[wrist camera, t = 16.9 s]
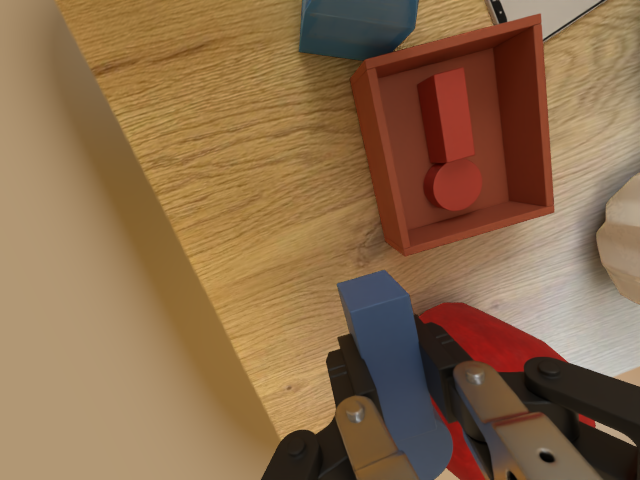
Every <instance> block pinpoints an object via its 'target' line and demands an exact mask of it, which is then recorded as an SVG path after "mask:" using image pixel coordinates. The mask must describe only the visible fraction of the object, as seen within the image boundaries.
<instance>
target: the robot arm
mask: <svg viewBox="0 0 640 480" xmlns="http://www.w3.org/2000/svg"><path fill="white" fill-rule="evenodd" d="M414 320H415V325H416V329H417V334H418V339H419V342H418V344H419V349H420V353H421V358H422V363H423V368H424V373H425V378H426V383H427V388H428V392H429V394H430V395H431V397H432V398H433V400H434V401H435V403H436V405H437V406H438V408H439V409H440V411H441V412H442V414H443V416H444V417H445V419H446V420H447V422H448V423H449V424H450V423H453V422H456V421H458V422H459V424H460V425H461V427H462V431H463V436H464V440H465V442H466V444H467V446H468V448H469V449H470V451H471V453H472V455H473V457H474V459H475V461H476V463H477V465H478V466H479V468H480V470H481V472H482V474H483V476H484V478H485V480H640V387H639V386H636V385H633V384H630V383H627V382H624V381H621V380H618V379H615V378H612V377H609V376H606V375H603V374H600V373H597V372H594V371H591V370H589V369H586V368H583V367H580V366H577V365H574V364H571V363H568V362H565V361H562V360H559V359H556V358H551V357H534V358H531V359H529V360H527V361H526V362H525V364H524V366H523V367H524V371H521V372H497V371H496V370H495V369H494V368H493V367H491V366H490V365H488V364H486V363H484V362H480V361H475V360H474V359H473V358H472V357H471V356H470V355H469V354H468V353H467V352H466V351H465V350H464V349H463V348H462V347H461V346H460V345H459V344H458V343H457V342H456V341H454V339H453V338H452V337H451V336H450V335H449V334H448V332H447V331H446V330H445V329H444V328H443V327H442V326H440V325H437V324H435V323H433V322H429V323H425V324H424V323H423V322H422V320H421V319H420V318H419V317H418V316H417V315H416V314H414ZM337 338H338V342H339V346H340V349H338V350H335V351H332V352H329V354H328V357H327V360H326V364H327V368H328V373H329V377H330V382H331V386H332V391H333V395H334V400H335V404H336V412H335V416H334V418H333V420H332V421H331V423H330V424H329V425H328V426H327V427H326V428H324V429H323V430H322V431H320V432H318V433H317V434H314V433H313V432H311V431H309V430H297V431H294V432H292V433H290V434H288V435H287V436H286V437H285V438H284V439H283V440H282V441H281V442H280V444H279V445H278V447H277V449H276V451H275V453H274V455H273V457H272V459H271V461H270V463H269V465H268V467H267V469H266V471H265V473H264V475H263V477H262V479H261V480H420V479H419V477H418V475H417V474H416V472H415V470H414V468H413V466H412V464H411V463H410V461H409V459H408V457H407V455H406V454H405V452H404V451H403V450H400V451H399V449H398V448H397V446H396V444H395V442H394V440H393V438H392V436H391V434H390V433H389V431H388V429H387V427H386V425H385V421H384V417H383V413H382V409H381V405H380V401H379V397H378V393H377V389H376V386H375V384H374V382H373V379H372V377H371V374H370V372H369V370H368V367H367V365H366V362H365V360H364V359H362V358H361V356H360V354H359V351H358V349H357V346H356V344H355V341H354V339H353V336H352V334H351V333H350V334H347V335H343V336H340V337H337ZM579 414H581V415H583V416H585V417H587V418H590V419H592V420H594V421H597V422H599V423H601V424H603V425H606V426H608V427H610V428H613V429H615V430H617V431H619V432H621V433H623V434H625V435H626V436H628V437H629V438H630V439H631V440H632V441H633V442H634V443H635V444H636V446H637V447H636V446H633V445H631V444H629V443H627V442H625V441H622V440H620V439H618V438H616V437H614V436H611V435H609V434H607V433H605V432H603V431H600V430H598V429H596V428H594V427H592V426H589V425H587V424H585V423H583V422H581V421H579Z"/></svg>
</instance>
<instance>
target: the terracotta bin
mask: <svg viewBox="0 0 640 480" xmlns="http://www.w3.org/2000/svg"><path fill="white" fill-rule="evenodd" d="M541 23H542V20H541V13H539V14H536V15H532V16H528V17H524V18H520V19H517V20H513V21H509V22H505V23H501V24H498V25H494V26H490V27H486V28H482V29H478V30H475V31H471V32H467V33H463V34H459V35H456V36H452V37H448V38H444V39H440V40H437V41H433V42H429V43H425V44H421V45H418V46H414V47H410V48H406V49H402V50H399V51H395V52H391V53H387V54H383V55H379V56H376V57H372V58H368V59H365V60H364V61H363V62H362V64H361V65H360V66H359V68H358V69H357V70H356V71H355V73H354V74H353V75H352V77H351V78H350V82H351V87H352V91H353V96H354V100H355V105H356V110H357V114H358V119H359V123H360V128H361V133H362V137H363V142H364V146H365V151H366V155H367V160H368V165H369V169H370V174H371V178H372V183H373V187H374V192H375V197H376V201H377V206H378V210H379V215H380V220H381V224H382V229H383V233H384V238H385V242H386V243H388V244H389V245H391V246H392V247H393V248H394V249H396V250H397V251H398V252H400V253H401V254H402V255H404V256H408V255H412V254H415V253H418V252H422V251H425V250H429V249H432V248H435V247H439V246H442V245H445V244H449V243H452V242H456V241H459V240H462V239H466V238H469V237H473V236H476V235H479V234H483V233H486V232H490V231H493V230H496V229H500V228H503V227H507V226H510V225H513V224H517V223H520V222H524V221H527V220H530V219H534V218H537V217H540V216H544V215H547V214H551V213H554V198H553V183H552V168H551V153H550V138H549V124H548V109H547V94H546V79H545V65H544V50H543V35H542V24H541ZM460 67H464V72H465V80H466V88H467V95H468V103H469V111H470V119H471V126H472V134H473V142H474V149H475V155H474V156H471V157H467V158H464V159H467V160H470V161H471V162H473V163H474V164H475V165H476V166H477V167H478V168H479V170H480V172H481V175H482V189H481V192H480V194H479V196H478V198H477V199H476V201H475V202H474V203H473V204H472V205H471V206H469V207H468V208H466V209H463V210H460V211H450V210H446V209H442V208H439V207H436V206H434V205H432V204H431V203H430V202H429V201H428V200H427V198H426V196H425V194H424V189H423V183H424V178H425V176H426V174H427V172H428V170H429V169H430V168H431V167H432V166H433V165H434V164H435V163H430V159H429V153H428V147H427V141H426V136H425V130H424V124H423V118H422V112H421V106H420V100H419V94H418V88H417V84H419V83H420V82H422V81H424V80H426V79H427V78H429V77H431V76H432V75H434V74H437V73H441V72H445V71H449V70H452V69H456V68H460Z"/></svg>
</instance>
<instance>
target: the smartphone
mask: <svg viewBox="0 0 640 480" xmlns="http://www.w3.org/2000/svg"><path fill="white" fill-rule="evenodd" d="M605 1H607V0H485V3H486V5H487V8H488V10H489V13H490V15H491V18H492V20H493V23H494V25H498V24H501V23H505V22H509V21H513V20H517V19H520V18H524V17H528V16H532V15H536V14H539V13H541V20H542V23H541V24H542V35H543V43H544V42H546V41H547V40H549V39H550V38H552V37H553V36H555V35H556V34H557V33H559V32H561V31H562V30H564V29H565V28H567V27H568V26H570V25H571V24H572V23H574V22H575V21H577V20H578V19H580V18H581V17H583V16H584V15H586V14H587V13H589V12H590V11H592V10H593V9H595V8H596V7H598V6H599V5H601V4H602V3H604V2H605Z"/></svg>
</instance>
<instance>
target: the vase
mask: <svg viewBox="0 0 640 480" xmlns="http://www.w3.org/2000/svg"><path fill="white" fill-rule="evenodd" d="M596 240H597V245H598V250H599V254H600V258H601V263H602V265H603V266H604V267H605V268H606V270H607V272H608V274H609V276H610V278H611V280H612V281H613V283H614V284H615V286H616V288H617V289H618V291H619V293H620V294H621V295H622V296H624V297H626V298H628V299H629V300H631V301H633V302H635V303H637V304H640V172H639V173H637V174H636V175H635V176H633V177H631V178H630V180H629V181H628V182H627V183H626V184H625V185H624V186H623V187H622V188H621V189H620V190H619V191H618V192H617V193H616V194H615V195H614V196H613V197H612V198H611V199H609V201H608V202H607V203H606V221H605V222H604V224H603V225H602V226H601V227H600V229H599V230H598V231H597V233H596Z"/></svg>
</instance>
